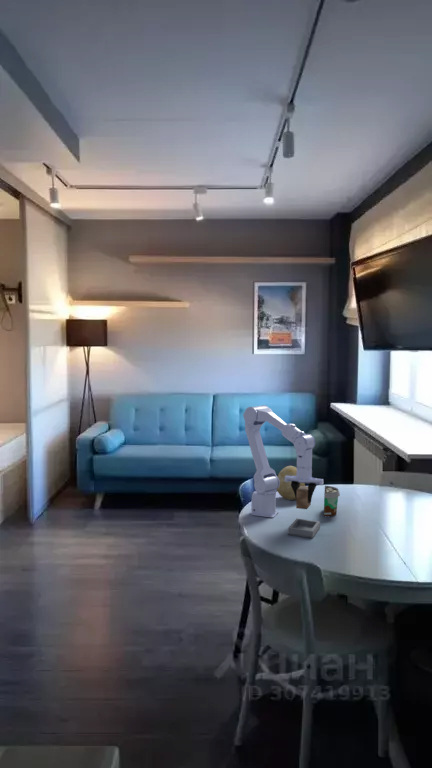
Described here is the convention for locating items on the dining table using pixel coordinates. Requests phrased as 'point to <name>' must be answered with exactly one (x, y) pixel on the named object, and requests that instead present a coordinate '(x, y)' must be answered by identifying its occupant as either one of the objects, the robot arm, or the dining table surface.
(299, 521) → the grey shallow tray
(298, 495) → the brown block
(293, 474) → the fossilized egg
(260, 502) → the robot arm
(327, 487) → the food container
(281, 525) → the dining table surface
